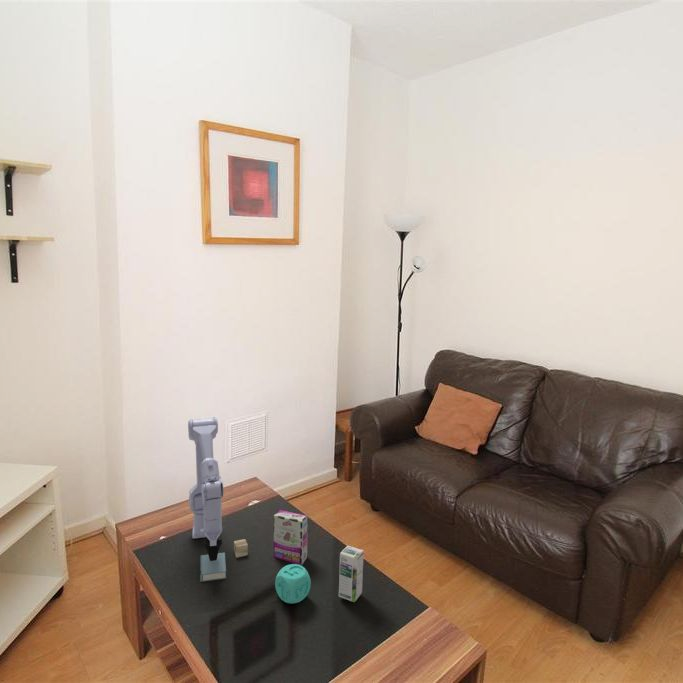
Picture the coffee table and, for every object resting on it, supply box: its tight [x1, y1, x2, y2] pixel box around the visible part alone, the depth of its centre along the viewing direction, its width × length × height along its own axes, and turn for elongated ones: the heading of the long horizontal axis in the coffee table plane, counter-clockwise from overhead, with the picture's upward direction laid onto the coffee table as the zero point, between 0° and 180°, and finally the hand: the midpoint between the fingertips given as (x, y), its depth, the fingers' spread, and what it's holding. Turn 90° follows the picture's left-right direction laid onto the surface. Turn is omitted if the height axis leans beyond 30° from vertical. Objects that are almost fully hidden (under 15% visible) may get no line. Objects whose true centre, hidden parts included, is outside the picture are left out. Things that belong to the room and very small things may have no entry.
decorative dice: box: [274, 563, 312, 604], centre depth 149 cm, size 8×8×8 cm
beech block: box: [233, 538, 249, 559], centre depth 170 cm, size 4×4×5 cm
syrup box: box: [338, 545, 364, 603], centre depth 150 cm, size 6×6×14 cm
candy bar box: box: [272, 509, 309, 566], centre depth 168 cm, size 11×5×16 cm, turn 68°
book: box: [199, 552, 227, 583], centre depth 161 cm, size 11×8×3 cm
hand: (213, 554), depth 161 cm, fingers open, 6 cm apart
